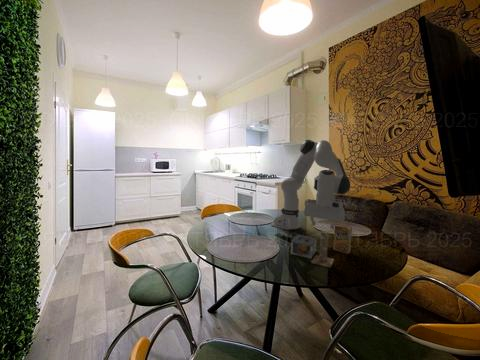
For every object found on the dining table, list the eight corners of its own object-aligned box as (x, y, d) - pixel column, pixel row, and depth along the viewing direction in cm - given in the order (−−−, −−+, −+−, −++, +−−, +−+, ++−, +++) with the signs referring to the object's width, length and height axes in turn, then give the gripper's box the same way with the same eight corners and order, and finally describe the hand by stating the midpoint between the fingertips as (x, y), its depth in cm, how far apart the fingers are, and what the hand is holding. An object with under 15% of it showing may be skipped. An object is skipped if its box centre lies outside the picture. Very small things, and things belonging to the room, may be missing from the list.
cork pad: (311, 262, 123) (311, 261, 123) (315, 255, 132) (315, 254, 132) (330, 267, 118) (330, 266, 118) (334, 260, 127) (334, 259, 127)
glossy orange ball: (299, 250, 135) (299, 245, 135) (301, 247, 139) (301, 242, 139) (306, 252, 133) (306, 247, 133) (308, 249, 137) (308, 244, 137)
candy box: (332, 250, 140) (334, 225, 138) (335, 247, 143) (336, 224, 141) (348, 254, 134) (350, 229, 132) (350, 252, 138) (352, 227, 136)
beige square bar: (319, 260, 125) (320, 232, 123) (320, 258, 127) (321, 230, 125) (325, 262, 123) (326, 233, 121) (326, 260, 126) (327, 231, 124)
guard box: (290, 253, 134) (291, 240, 133) (296, 246, 145) (297, 234, 144) (311, 258, 128) (312, 245, 127) (316, 250, 138) (317, 238, 137)
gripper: (303, 199, 124) (301, 224, 126) (344, 205, 113) (342, 232, 115) (306, 197, 129) (304, 221, 131) (346, 203, 118) (344, 228, 120)
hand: (322, 226), depth 123 cm, fingers open, 8 cm apart
